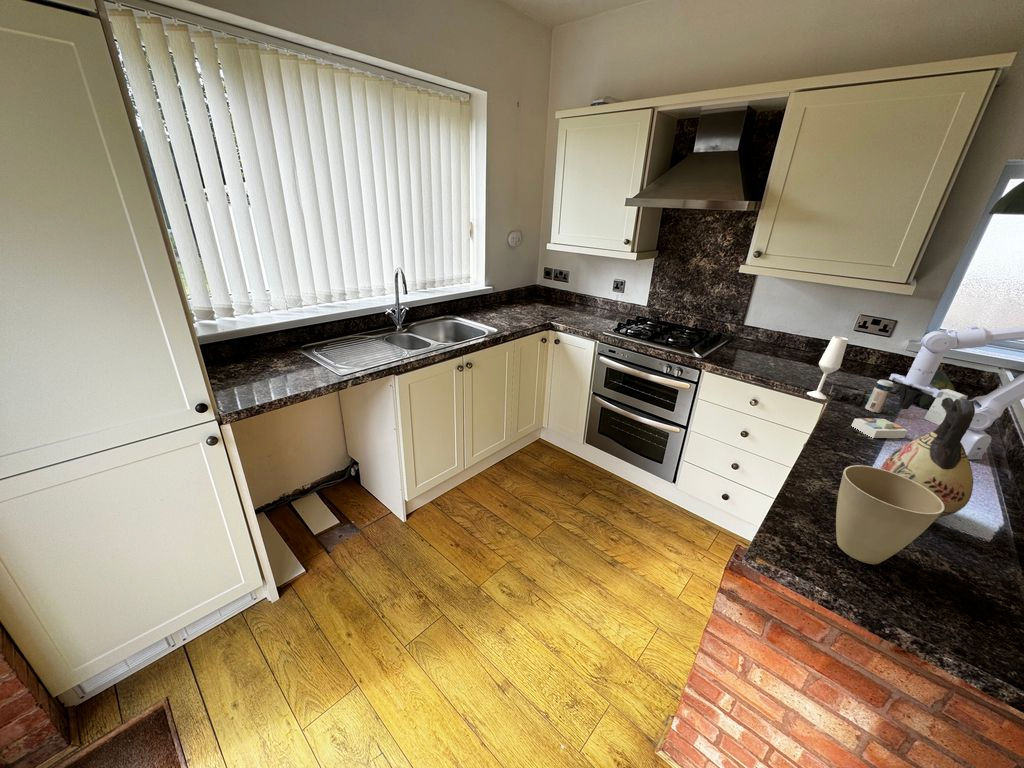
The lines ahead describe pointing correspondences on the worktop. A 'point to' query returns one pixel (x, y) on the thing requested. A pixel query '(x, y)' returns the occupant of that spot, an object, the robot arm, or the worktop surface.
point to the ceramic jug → (940, 458)
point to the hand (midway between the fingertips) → (903, 408)
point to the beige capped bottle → (879, 395)
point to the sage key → (885, 423)
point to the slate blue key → (874, 425)
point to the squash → (938, 382)
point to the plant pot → (881, 513)
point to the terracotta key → (896, 426)
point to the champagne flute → (830, 361)
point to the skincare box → (936, 410)
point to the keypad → (877, 433)
